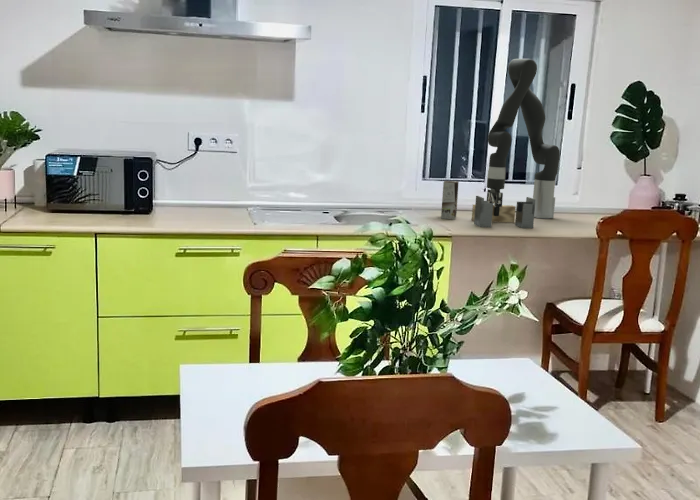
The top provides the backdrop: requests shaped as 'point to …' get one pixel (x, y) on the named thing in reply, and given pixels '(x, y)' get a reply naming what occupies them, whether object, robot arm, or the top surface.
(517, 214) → the bracket
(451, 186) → the coffee box
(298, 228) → the top surface
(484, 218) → the bracket
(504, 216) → the rail
